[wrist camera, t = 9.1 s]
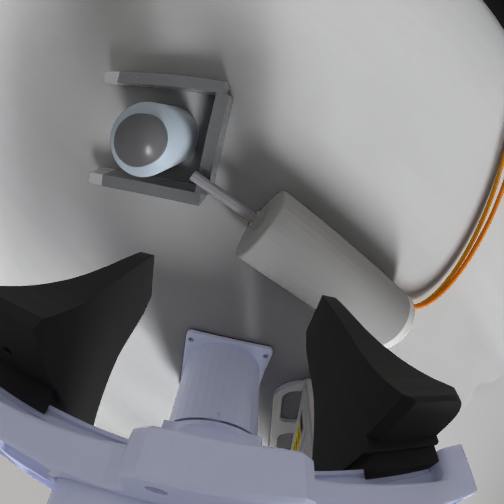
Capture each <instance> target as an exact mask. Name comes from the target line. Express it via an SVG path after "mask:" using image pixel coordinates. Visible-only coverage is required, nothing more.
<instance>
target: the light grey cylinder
mask: <svg viewBox="0 0 504 504" xmlns="http://www.w3.org/2000/svg"><path fill="white" fill-rule="evenodd" d="M197 142H198V127H197V124H196V121H195V120H194V118H193V117H192V115H191V114H190V113H189V112H187V111H186V110H184V109H182V108H180V107H176V106H171V105H166V104H160V103H155V102H140V103H136V104H134V105H132V106H130V107H128V108H127V109H125V110H124V111H123V112H122V113H121V114H120V116H119V117H118V118H117V120H116V121H115V123H114V126H113V128H112V132H111V138H110V145H111V151H112V154H113V157H114V159H115V161H116V162H117V164H118V165H119V166H120V167H121V168H122V169H123V170H124V171H125V172H127V173H129V174H131V175H134V176H137V177H149V176H153V175H156V174H158V173H160V172H162V171H165V170H167V169H169V168H171V167H173V166H175V165H178V164H180V163H182V162H184V161H185V160H186V159H188V158H189V157H190V156H191V154H192V153H193V152H194V150H195V148H196V146H197Z"/></svg>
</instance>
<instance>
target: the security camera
mask: <svg viewBox="0 0 504 504" xmlns="http://www.w3.org/2000/svg"><path fill="white" fill-rule="evenodd" d="M483 1H484V2H485V3H486V5H487V6H488V7H489V9H490V10H491V11H492V13H493V14H494V15H495V17H496V18H497V20H498V21H499V23H500V24H501V26H502V27H503V29H504V0H483Z"/></svg>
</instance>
